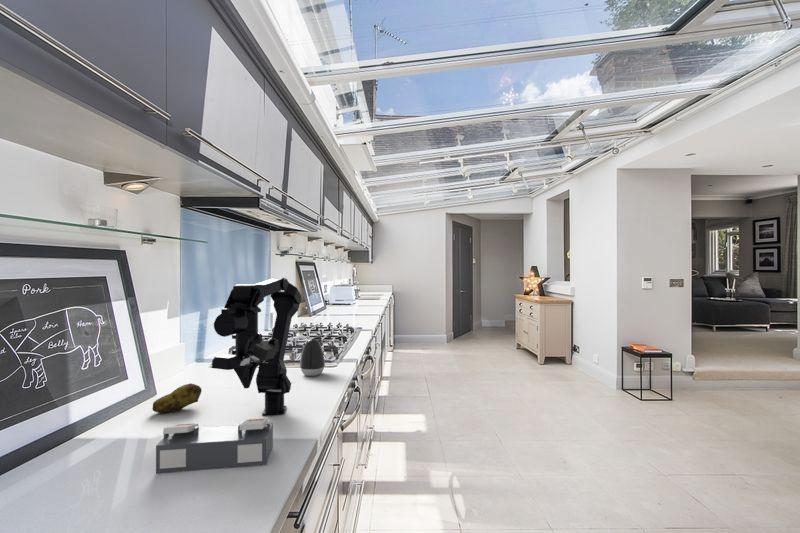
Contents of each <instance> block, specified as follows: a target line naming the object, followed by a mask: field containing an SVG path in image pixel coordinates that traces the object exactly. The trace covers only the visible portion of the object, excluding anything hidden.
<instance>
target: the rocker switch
mask: <svg viewBox="0 0 800 533" xmlns="http://www.w3.org/2000/svg"><path fill="white" fill-rule="evenodd" d="M267 422H269V418H265V417H264V418H250V419H245V421H243V422H241V423H239V424H240V430H252V429H263V428H264V427H265V426H266V425H267Z"/></svg>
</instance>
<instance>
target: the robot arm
mask: <svg viewBox="0 0 800 533" xmlns="http://www.w3.org/2000/svg"><path fill="white" fill-rule="evenodd" d="M268 296H270V298H271V300H272V301H273V308H274V310H275V313H276V316H275V321H274V325H273V329H272V330H273V331H272V335H271V339H269V340H264V339H263V335H262V333H259V313H261V312H262V309H261V308H260V307H259V305H260V304H261V303H262V302H264V299H265V297H268ZM302 301H303V300H302V293H300V290H299V289H298V287H296V285H293V284H292V283H290V282H289V281H288V279H287V278H285V277H272V278H270V279H267V280H264V281H261V282H257V283H253V284H243V283H241V284H240V283H239V284H235V285H234V286H233V287H232V289H231V290H230V293H229V294H228V297H227V300H226V303H225V305H224V307H223V308H221V309H220V312H221V313H220V314H219V315H218V316H216V318H215V320H214V322H213V329H214V331H215V333H216V334H217V335H219V337H229V336H231V339H232V340H235V345H234V346H235V349H232V350H231V354H226V353H225V354H221V355H216V356H214V358H213V359H212V360H211V369H217V370H223V371H225V370H227V371H230V370H231V371H232V370H233V371H234V372H235V373H236V375H237V377H238V379H239V381H240V383H241V385H242V387H243V389H249V388H250V386H251V384H252V380H253V378H254V375H255V372H256V370H257V367H258V371H257V374H256V377H255V383H256V388H257V393H258V394H264V409H263V411H262V412H261V415H262V416H272V415H273V416H274V415H284V414H285V412H286V410H287V405H285V394H287V393H288V394H289V393H290V390H291V388H292V382H291V381H290V379H289V377H288V376H287V371H288V370H287V367H286V364H285V362H284V360H285V359H284V358H285V354H286V348H287V344H288V338H289V334H290V330H291V329H290V328H291V322H292V318H293V317H294V316H295V315H296V313H297V312H298V311H299V309H300V304H301V303H302Z"/></svg>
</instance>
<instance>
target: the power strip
mask: <svg viewBox="0 0 800 533" xmlns="http://www.w3.org/2000/svg"><path fill="white" fill-rule="evenodd" d="M240 424H241V423H239V424H236V425H221V426H220V425H219V426H205V427H204V426H202V427H199V425H198V426H196V427H195V428H194V430H193V431H190V432H185V433H169V434H163V438H162V439H161V440H160V441H159V442H158V443H157V444H156V445H155V473H156V474H165V473H166V474H167V473H179V472H191V471H192V472H193V471H204V470H205V471H207V470H217V469H232V468H244V467H245V468H246V467H257V466H258V467H259V466H266V465H267V464H268V461H269V459H270V457H271V453H272V451H273V448H274V431H273V430H274V423H273V422H271V421H268V422H267V425H266V426H265V427H264V428H263V429H252V430H240Z"/></svg>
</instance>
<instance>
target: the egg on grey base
mask: <svg viewBox="0 0 800 533" xmlns="http://www.w3.org/2000/svg"><path fill="white" fill-rule="evenodd" d="M322 341H323V340H322V338H319V339H316V338H309V339H308V340H306V343H305V344H304V346H303V349H302V352H301V357H300V361H299V362H300V363H299V368H300V370H301V372H302V374H303V375H304V376H306V377H318V376H319V375H321V374H322V373H323V371H324V370H325V366H326V362H325V354H324V351H323V348H322V345H321V344H320V343H321V342H322Z"/></svg>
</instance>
